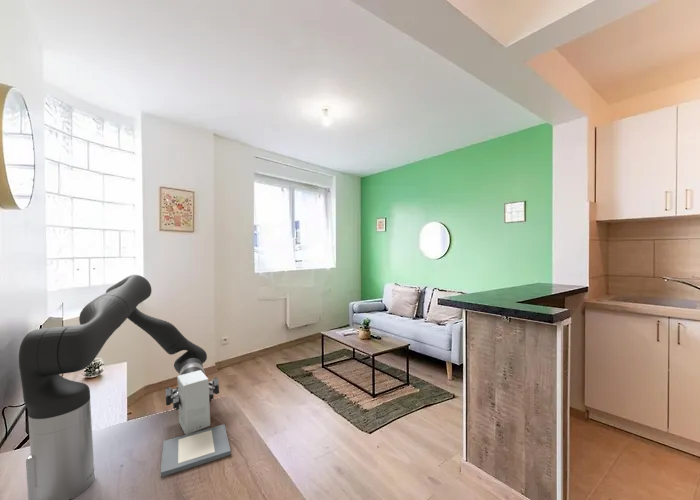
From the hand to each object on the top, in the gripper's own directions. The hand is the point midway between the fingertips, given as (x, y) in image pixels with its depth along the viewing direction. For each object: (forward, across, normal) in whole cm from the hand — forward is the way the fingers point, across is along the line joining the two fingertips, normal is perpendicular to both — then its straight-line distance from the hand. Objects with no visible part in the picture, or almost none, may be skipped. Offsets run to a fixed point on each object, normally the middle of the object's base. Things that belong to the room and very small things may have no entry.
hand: (194, 402), depth 84 cm
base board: (+10, 0, +7) cm, 12 cm away
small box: (-2, 0, +7) cm, 8 cm away
